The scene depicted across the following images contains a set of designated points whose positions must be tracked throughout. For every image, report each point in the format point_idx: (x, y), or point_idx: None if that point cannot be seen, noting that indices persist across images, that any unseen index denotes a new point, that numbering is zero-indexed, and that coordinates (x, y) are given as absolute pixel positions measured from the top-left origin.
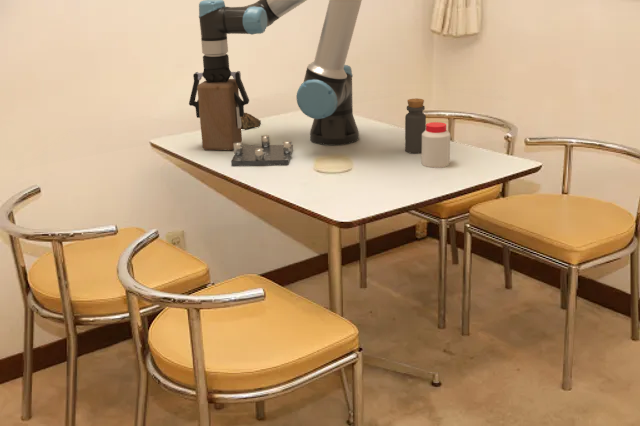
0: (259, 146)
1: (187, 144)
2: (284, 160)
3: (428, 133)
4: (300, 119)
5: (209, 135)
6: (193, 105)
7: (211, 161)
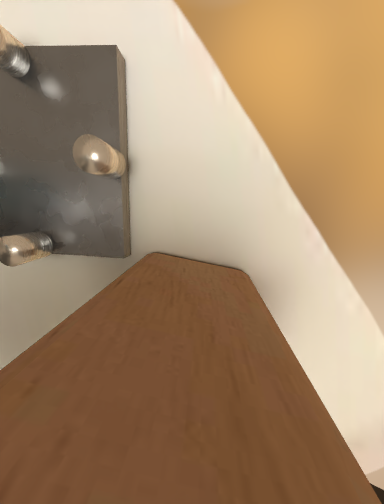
0: (58, 240)
1: (300, 342)
2: None
3: None
4: None
5: (224, 281)
6: (380, 494)
7: (204, 134)
